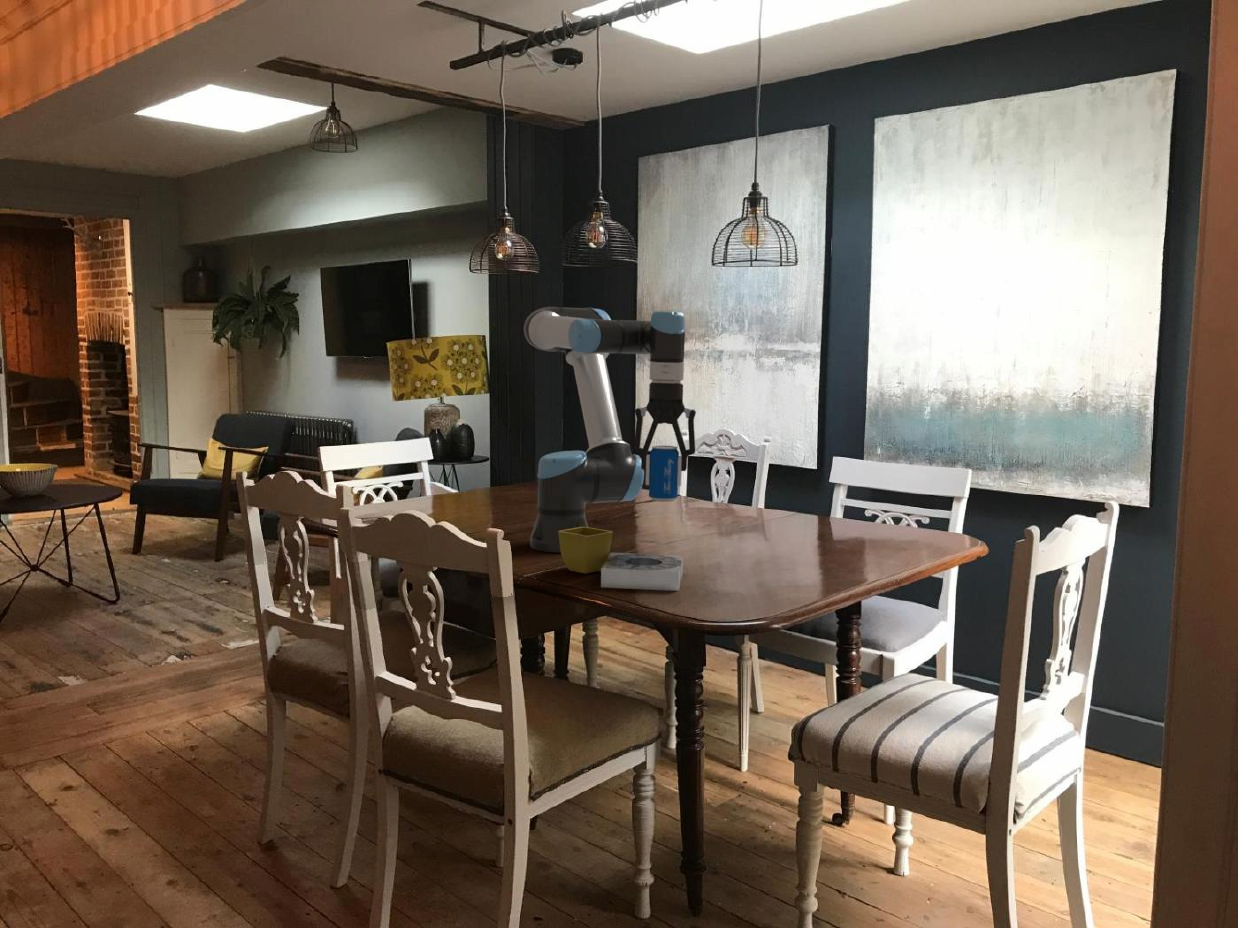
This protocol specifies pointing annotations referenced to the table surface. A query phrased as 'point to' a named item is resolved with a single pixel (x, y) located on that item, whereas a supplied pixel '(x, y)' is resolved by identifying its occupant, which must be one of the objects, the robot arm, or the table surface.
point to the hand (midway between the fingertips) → (663, 484)
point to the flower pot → (585, 548)
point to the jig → (642, 571)
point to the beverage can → (663, 473)
